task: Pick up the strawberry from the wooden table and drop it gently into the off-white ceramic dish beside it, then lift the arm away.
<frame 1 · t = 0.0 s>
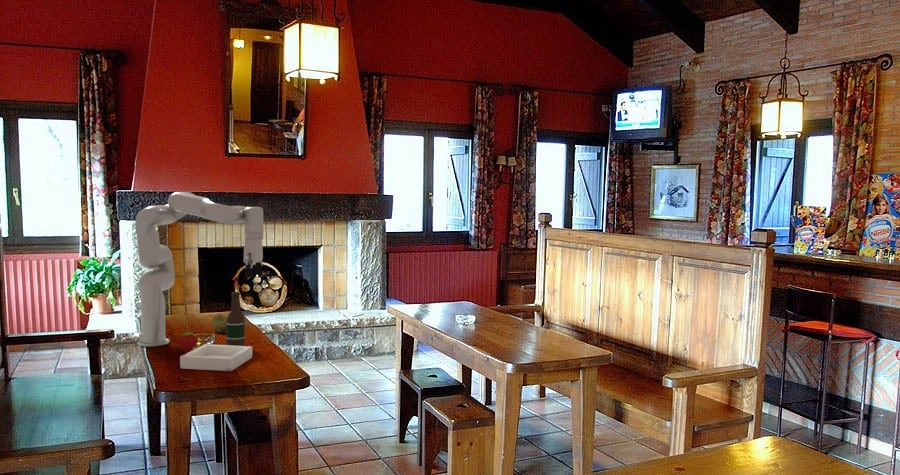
hand: (253, 276, 276), 31 cm above the table, tool pointing down, fingers open, 9 cm apart
beer bottle: (235, 348, 280), on the table
potato: (221, 332, 309), on the table
strawberry: (188, 353, 269), on the table
tray: (217, 362, 255), on the table
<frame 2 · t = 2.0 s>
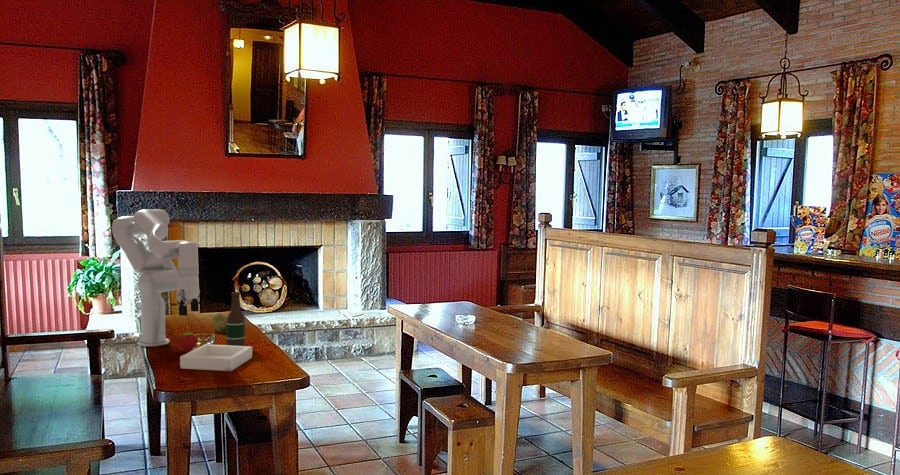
hand: (189, 313, 267), 17 cm above the table, tool pointing down, fingers open, 9 cm apart
nothing on the table moved.
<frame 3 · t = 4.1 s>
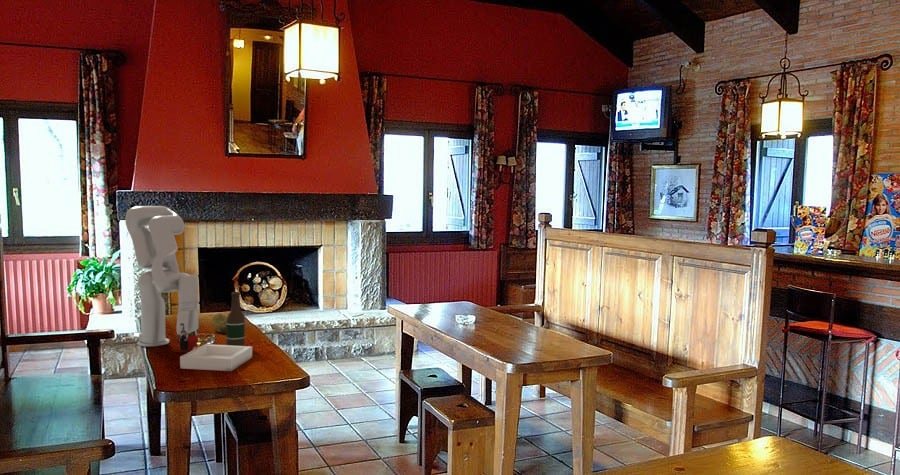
hand: (188, 347, 269), 2 cm above the table, tool pointing down, fingers closed on strawberry, 6 cm apart
strawberry: (188, 353, 269), on the table, touching gripper
everything else where it was.
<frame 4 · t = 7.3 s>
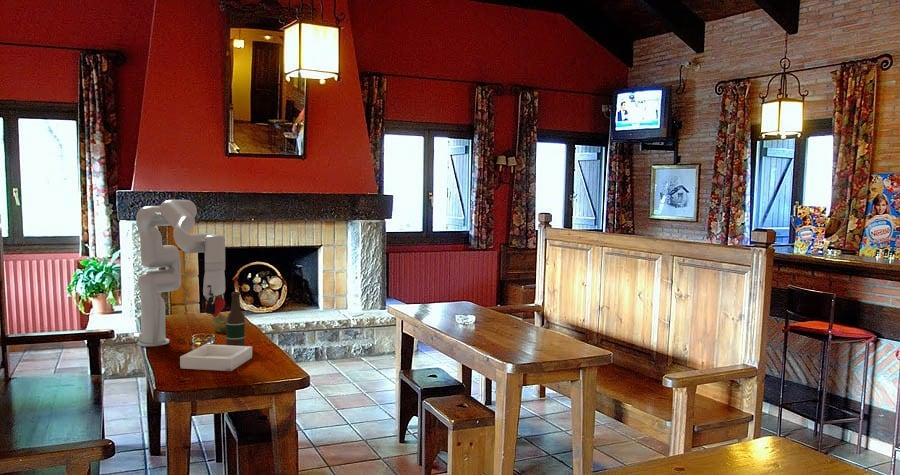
hand: (215, 311, 255), 20 cm above the table, tool pointing down, fingers closed on strawberry, 6 cm apart
strawberry: (215, 317, 255), point 18 cm above the table, touching gripper
everything else where it was.
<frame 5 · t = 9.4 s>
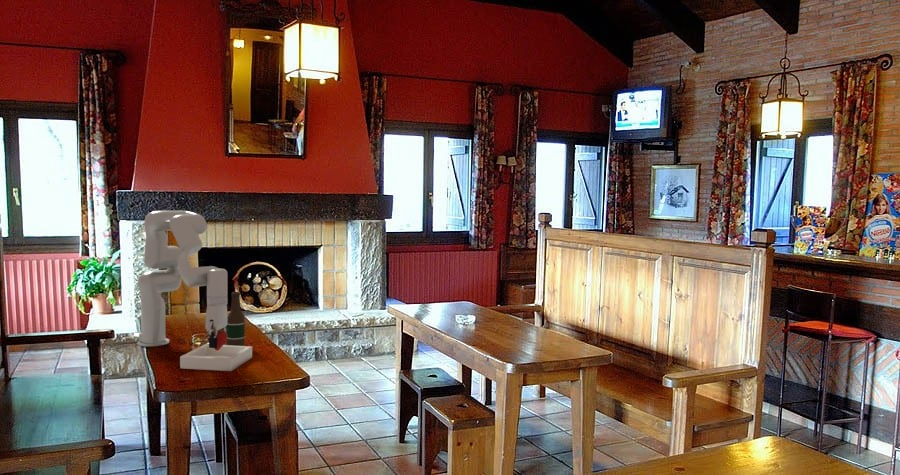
hand: (217, 345, 255), 7 cm above the table, tool pointing down, fingers closed on strawberry, 6 cm apart
strawberry: (217, 351, 255), point 5 cm above the table, touching gripper
everything else where it was.
when the fingers open (5 cm above the table, at t = 10.7 s): strawberry drops 2 cm, resting on tray.
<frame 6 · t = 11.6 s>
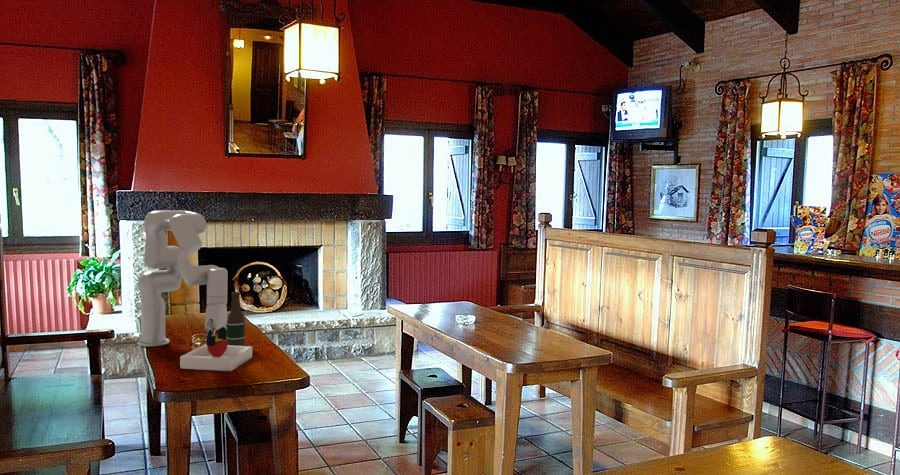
hand: (216, 342, 255), 8 cm above the table, tool pointing down, fingers open, 9 cm apart
strawberry: (217, 360, 256), point 1 cm above the table, touching tray
everything else where it was.
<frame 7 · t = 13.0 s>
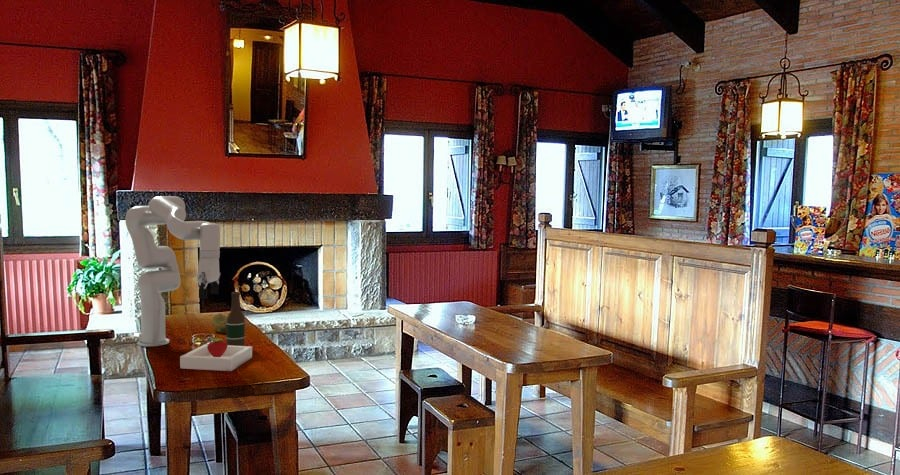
hand: (208, 296, 262), 25 cm above the table, tool pointing down, fingers open, 9 cm apart
nothing on the table moved.
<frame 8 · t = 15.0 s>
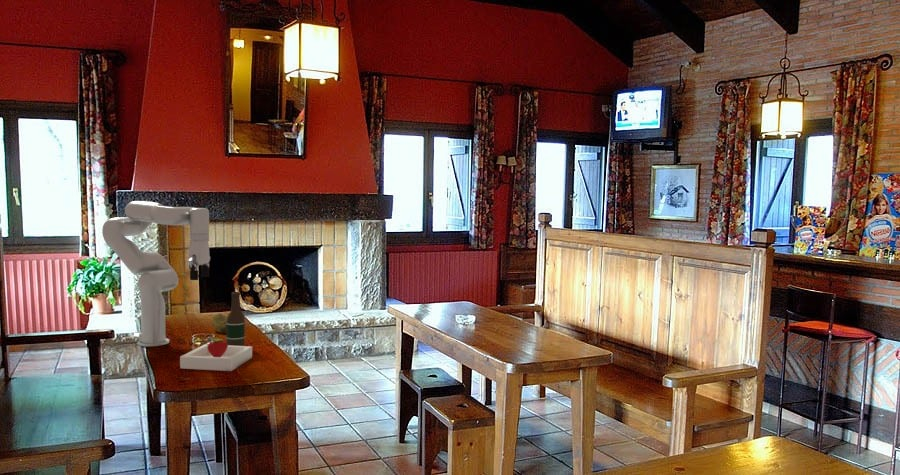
hand: (199, 278, 272), 30 cm above the table, tool pointing down, fingers open, 9 cm apart
nothing on the table moved.
at the end: strawberry inside the target area on the tray (0.5 cm from its centre), point 0.8 cm above the tray's base; the gripper is holding nothing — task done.
